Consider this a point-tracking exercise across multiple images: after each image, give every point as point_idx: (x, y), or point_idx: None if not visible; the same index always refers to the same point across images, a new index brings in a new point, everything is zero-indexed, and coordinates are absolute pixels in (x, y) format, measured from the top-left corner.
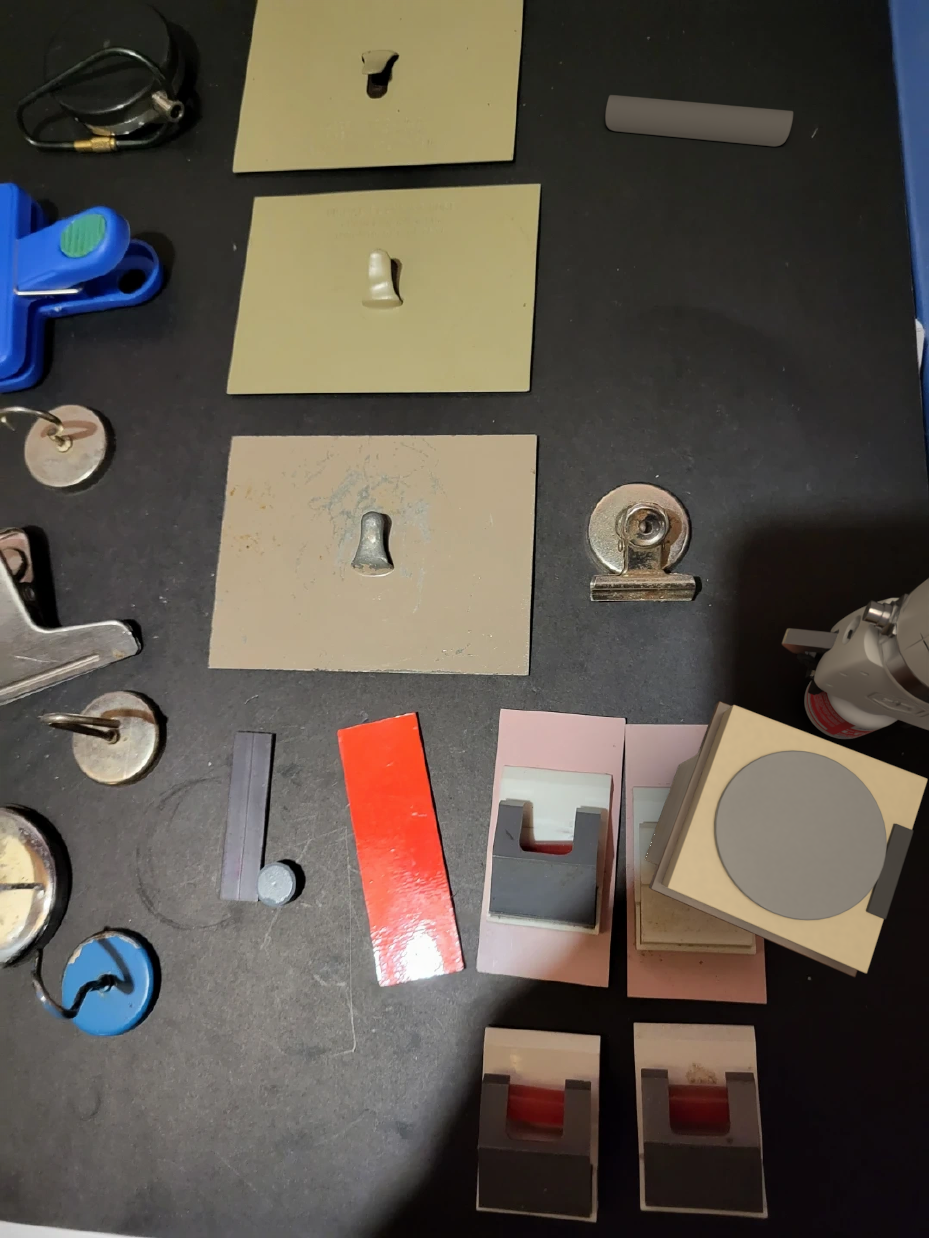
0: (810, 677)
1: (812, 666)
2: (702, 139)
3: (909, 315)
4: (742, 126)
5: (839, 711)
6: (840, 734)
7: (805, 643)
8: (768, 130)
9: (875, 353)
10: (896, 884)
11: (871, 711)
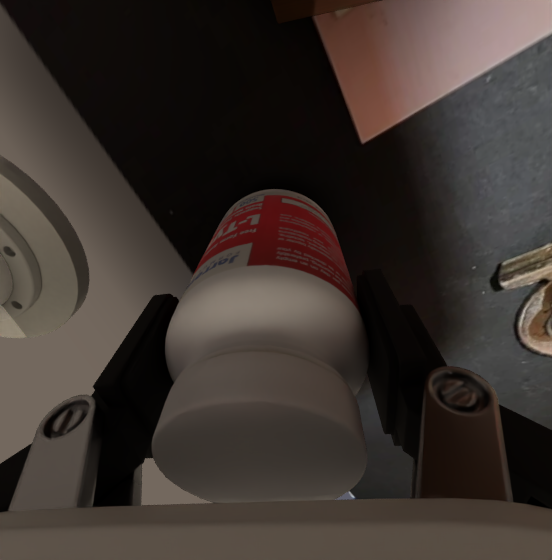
0: (416, 325)
1: (516, 439)
2: None
3: (359, 498)
4: None
5: (308, 284)
6: (256, 205)
7: None
8: None
9: (374, 480)
10: None
11: (233, 378)
